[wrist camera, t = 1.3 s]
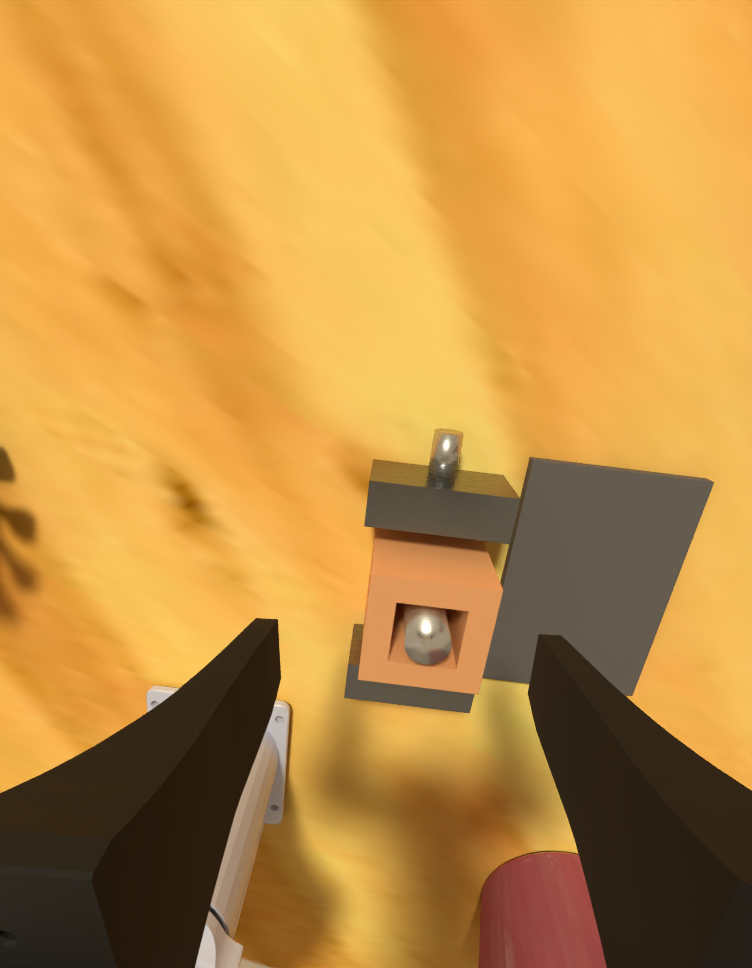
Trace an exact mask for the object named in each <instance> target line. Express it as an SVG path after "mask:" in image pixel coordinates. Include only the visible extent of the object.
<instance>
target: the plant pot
mask: <svg viewBox="0 0 752 968" xmlns="http://www.w3.org/2000/svg"><path fill="white" fill-rule="evenodd" d="M479 968H607V967H606V962H605V958H604V954H603V949H602V945H601V940H600V936H599V932H598V928H597V924H596V920H595V916H594V912H593V908H592V904H591V900H590V896H589V892H588V888H587V884H586V880H585V876H584V872H583V869H582V865H581V861H580V857H579V855H578V854H573V853H566V852H539V853H534V854H529V855H525V856H521V857H518V858H516V859H513V860H511V861H509V862H507V863H505V864H503V865H502V866H500V867H499V868H498V869H497V870H495V871H494V872H493V873H492V874H491V875H490V877H489V878H488V879H487V881H486V882H485V884H484V887H483V890H482V896H481V922H480V947H479Z"/></svg>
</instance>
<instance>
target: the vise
mask: <svg viewBox="0 0 752 968" xmlns="http://www.w3.org/2000/svg"><path fill="white" fill-rule="evenodd" d="M463 436H464V434H463V433H462V432H460V431H456V430H452V429H442V428H440V429H435V431H434V438H433V444H432V450H431V456H430V463H429V466H423V465H414V464H406V463H398V462H390V461H382V460H374V459H373V464H372V470H371V476H370V482H369V490H368V499H367V508H366V516H365V525H364V526H366V527H374V528H383V529H391V530H399V531H407V532H415V533H423V534H432V535H440V536H448V537H456V538H464V539H472V540H480V541H489V542H497V543H505V544H510V540H511V536H512V532H513V528H514V524H515V519H516V515H517V511H518V507H519V502H520V498H519V496H518V495H517V494H516V492H515V491H514V489H513V488H512V487H511V485H510V484H509V482H508V481H507V480H506V478H505V477H504V475H496V474H488V473H480V472H472V471H464V470H457V469H458V463H459V458H460V453H461V447H462V442H463ZM403 606H404V645H405V651H406V653H407V655H408V656H409V657H410V658H411V659H412V660H413V661H415V662H417V663H420V664H425V665H431V664H436V663H439V662H441V661H443V660H444V659H445V658H446V657H447V656H448V655H449V653H450V651H451V647H452V643H451V637H450V632H449V626H448V620H447V614H446V609H445V608H437V607H429V606H421V605H413V604H405V603H403ZM363 628H364V625H361V624H354V628H353V635H352V642H351V649H350V656H349V663H348V671H347V680H346V688H345V697H344V698H350V699H358V700H366V701H375V702H383V703H391V704H399V705H407V706H415V707H423V708H431V709H439V710H447V711H456V712H464V713H470V710H471V706H472V701H473V697H474V694H470V693H462V692H454V691H445V690H437V689H429V688H421V687H413V686H405V685H397V684H389V683H381V682H372V681H364V680H358V673H359V664H360V655H361V646H362V637H363Z"/></svg>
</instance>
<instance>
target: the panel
mask: <svg viewBox="0 0 752 968" xmlns="http://www.w3.org/2000/svg"><path fill="white" fill-rule="evenodd" d="M713 484H714V482H712V481H710V480H708V479H705V478H697V477H689V476H681V475H672V474H664V473H656V472H648V471H640V470H631V469H623V468H615V467H607V466H599V465H591V464H582V463H574V462H566V461H558V460H550V459H541V458H533V457H530V460H529V464H528V468H527V472H526V477H525V481H524V485H523V489H522V494H521V498H520V502H519V507H518V511H517V515H516V519H515V524H514V528H513V532H512V536H511V540H510V544H509V549H508V553H507V557H506V561H505V566H504V570H503V574H502V578H501V582H500V583H501V586H502V588H503V594H502V598H501V602H500V606H499V610H498V614H497V619H496V623H495V627H494V631H493V635H492V639H491V644H490V648H489V652H488V656H487V660H486V664H485V669H484V673H483V677H482V678H490V679H498V680H506V681H514V682H522V683H530V679H531V673H532V668H533V662H534V657H535V651H536V646H537V640H538V634H547V635H561V636H563V637H564V638H565V639H566V640H567V641H568V642H569V643H570V644H571V645H572V646H573V647H574V648H575V649H576V650H577V651H578V652H579V653H580V654H581V655H582V656H583V657H584V658H585V659H586V660H588V661H589V662H590V663H591V664H592V665H593V666H594V667H595V668H596V669H597V670H598V671H599V672H600V673H601V674H602V675H603V676H604V677H605V678H606V679H607V680H608V681H609V682H610V683H612V684H613V685H614V686H615V687H616V688H617V689H618V690H619V691H620V692H621V693H622V694H624V695H628V696H632V695H633V693H634V690H635V687H636V685H637V682H638V680H639V677H640V674H641V672H642V669H643V666H644V664H645V661H646V659H647V656H648V653H649V651H650V648H651V646H652V643H653V640H654V638H655V635H656V633H657V630H658V627H659V625H660V622H661V620H662V617H663V614H664V612H665V609H666V606H667V604H668V601H669V599H670V596H671V593H672V591H673V588H674V586H675V583H676V580H677V578H678V575H679V573H680V570H681V567H682V565H683V562H684V560H685V557H686V554H687V552H688V549H689V546H690V544H691V541H692V539H693V536H694V533H695V531H696V528H697V526H698V523H699V520H700V518H701V515H702V513H703V510H704V507H705V505H706V502H707V499H708V497H709V494H710V492H711V489H712V486H713Z"/></svg>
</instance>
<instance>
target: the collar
mask: <svg viewBox="0 0 752 968" xmlns="http://www.w3.org/2000/svg"><path fill="white" fill-rule="evenodd" d="M502 594H503V588H502V586H501V583H500V581H499V578H498V576H497V573H496V571H495V569H494V566H493V564H492V561H491V559H490V556H489V554H488V551H487V549H486V546H485V544H484V541H480V540H472V539H464V538H456V537H448V536H440V535H432V534H423V533H415V532H407V531H399V530H391V529H383V528H376V530H375V538H374V546H373V553H372V561H371V569H370V577H369V585H368V593H367V601H366V609H365V618H364V628H363V637H362V646H361V655H360V664H359V673H358V680H364V681H372V682H381V683H389V684H397V685H405V686H413V687H421V688H429V689H437V690H445V691H454V692H462V693H470V694H479V689H480V685H481V681H482V677H483V673H484V669H485V664H486V660H487V656H488V652H489V648H490V644H491V639H492V635H493V631H494V627H495V623H496V619H497V614H498V610H499V606H500V602H501V598H502ZM403 603H405V604H413V605H421V606H429V607H437V608H445V609H446V614H447V620H448V626H449V632H450V637H451V643H452V647H451V651H450V653H449V655H448V656H447V657H446V658H445V659H444V660H443V661H441V662H439V663H436V664H431V665H425V664H420V663H417V662H415V661H413V660H412V659H411V658H410V657H409V656H408V655H407V653H406V651H405V645H404V606H403Z"/></svg>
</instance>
